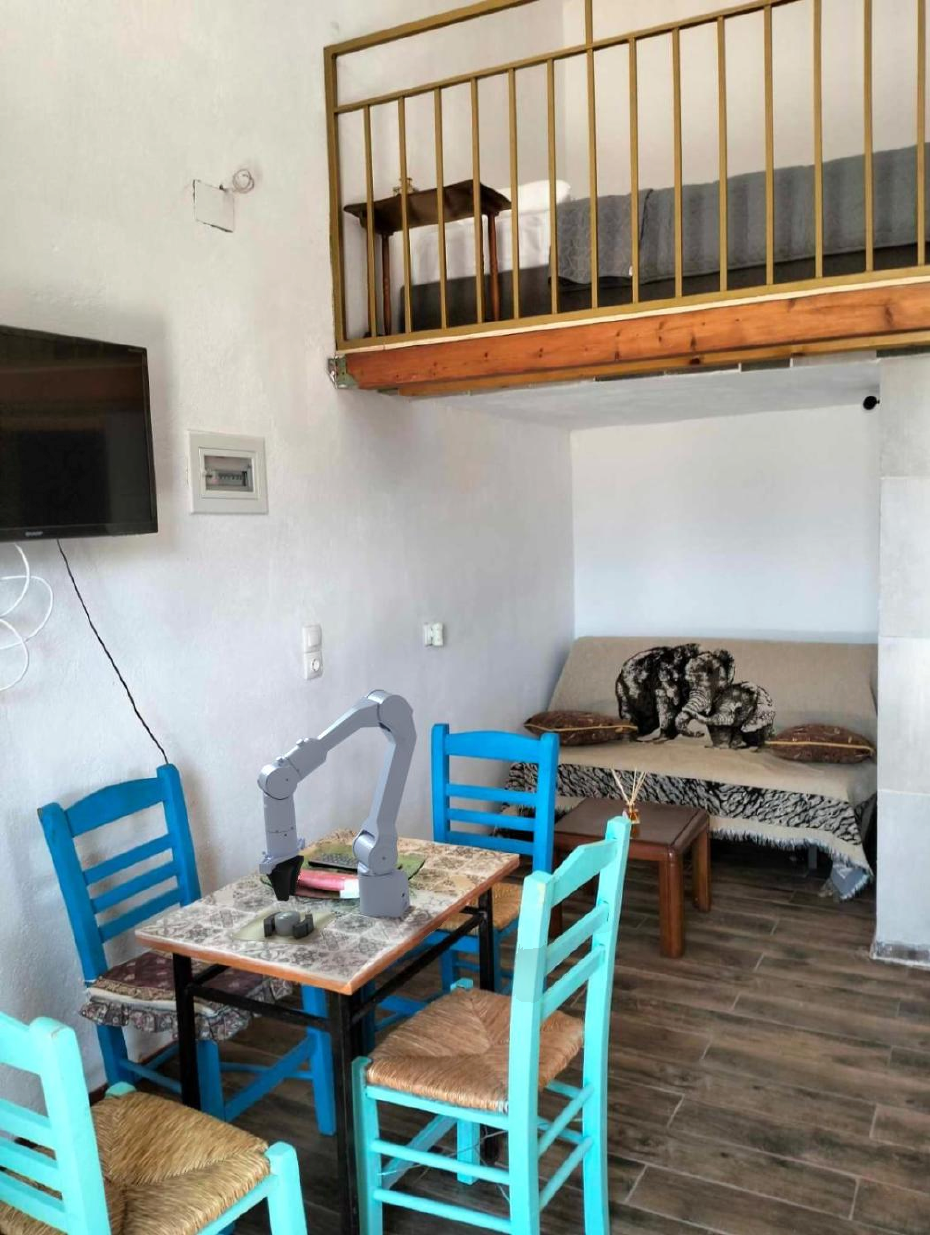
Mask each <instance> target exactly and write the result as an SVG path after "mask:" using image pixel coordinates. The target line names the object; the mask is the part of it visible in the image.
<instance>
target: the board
mask: <svg viewBox="0 0 930 1235" xmlns="http://www.w3.org/2000/svg"><path fill="white" fill-rule="evenodd" d="M285 911H286V910H277V909H264V910H263V911H262V912H260V913H259V915H257V916H256V917H254V918H253V919H252V920H250V921H249V922H248V923H247V924H245V925H244V926H243V927H242V928H241V929H239V930H237V932H235V933H234V934H233V935H232V936H230V937H229V938H228V939H229V940H239V941H240V940H242V941H253V942H263V943H265V942H266V943H274V944H276V943H277V944H289V945H299V946H301V945H302V946H306V945H307V944H309V943H310V942H311V941H312V940H313V939H314V938H315V937H316V936H317V935H319V933H320V932H322V931H323V929H325V928H326V927H327V926H328V925H329V924H330V923H331V922H333V920H334V919H336V918H337V917H338V916H339V914H334V913H332V914H331V913H320V912H319V913H318V912H308V911H307V912H305V911H298V912H299V913H300V919H301V922H302V921H303V920H304V919H305V915H307V914H312V915H313V925H314V930H313V932H312V933H311V934H309V935H307V936H306V937H304V938H301V939H298V940H297V939H295V938H294V937H293V936H278V935H277V934H276V932H275V930H274V931H273V932H272V936H269V937H265V936H264V924H263V921H264V919H265V918H267V917H268V916H269V915H271V914H274V913H277V912H285Z"/></svg>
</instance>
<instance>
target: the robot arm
mask: <svg viewBox="0 0 930 1235" xmlns="http://www.w3.org/2000/svg"><path fill="white" fill-rule="evenodd" d="M413 714H414V708H413V707H412V706H411V705H410V703H409V702H408V700H407V699H406V698H405V697H403V696H402V695H399V694H393V693H391V692H388V691H385V690H384V689H379V688H377V689H374V690H370V692H368V693H367V694H366V695H365V696H363V697H361V698H359V699H358V700H357V701H356V702H355V703H354V705H352V706H351V708H349V709H348V710H347V711H346V712H345V713H343V714H342V715H341V716H340V717H339V718H338V719H336V721H335V722H333V723H332V724H331V725H330V726H329V727H327V728H326V729H325V730H324V731H323V732H322V733H321V734H319V736H317V737H315V738H314V737H306V738H305V739H302V738H300V739H298V740H297V741H296V742H295V744H296V745H295V746H294V748H292V749H291V750H289V751H288V752H287V753H286V754H284V755H283V756H278V757H277V758H276V759H275V761H276V762H273V763H269V764H267V765H265V766H264V767H263V768H262V769H261V770H260V773H259V774H258V778H257V779H256V782H257V785H258V788H259V789H261V791H262V797H263V799H262V800H263V816H264V817H263V818H264V829H265V840H266V848H264V849H263V850H261V855H263V858H262V860H261V862H259V863H258V868H259V869H258V870H259V874H261V875H265V876H266V877H267V878H268V881H269V882H270V884H271V886H272V888H273V892H274V893H275V897H276V900H277V901H278V902H289V900H290V897H295V896H296V893H297V886H298V883H297V881H298V876H299V872H300V869H301V868H302V865H303V863H304V862H305V857H304V855H302V854H301V855H299V854H300V852H301V850H305V849H306V838H302V837H301V838H299V837H298V833H297V824H296V823H297V820H296V808H295V807H296V806H295V802H294V801H295V800H294V793H295V792H296V790H297V788H298V784H299V783H301V781H303V780H304V779H305V778H307V777H308V776H309V775H310V774H312V772H314V771H315V770H317V769H318V768H319V767H320V766H321V765H323V764H324V763H325V762H327V756H328V752H329V751H331V750H332V749H333V748H335V747H336V746H338V745H339V744H340V743H342V742H343V741H344V740H346V739H348V738H349V737H351V736H352V735H353V734H355V733H356V732H357V731H359V730H360V729H362V728H363V729H364V728H379V729H380V730H381V731H382V733H383V735H384V736H385V738H386V739H387V744H386V750H385V753H384V757H383V760H382V764H381V768H380V773H379V777H378V781H377V784H376V789H375V791H374V797H373V800H372V804H371V807H370V812H369V815H368V818H367V819H365V820H364V822H363V823H362V824H361V826H360V829H359V833H358V834H357V835H356V836H355V838H354V839H353V840H352V845H351V852H352V854H353V856H354V858H355V859H356V860H358V864H357V879H358V881H357V882H358V892H359V893H358V894H359V905H360V906H359V907H360V908H359V909H360V913H361V914H362V915H364V916H367V917H375V918H377V917H378V918H379V917H391V918H401V916H402V915H403V914H404V912H405V911H406V910H407V909H408V908H409V907H411V902H410V901H411V900H410V887H409V876H408V873H407V871H405V870H403V869H402V870H401V869H398V868H396V865H397V863H398V859H399V853H398V841H399V835H398V830H397V828H396V822H397V818H398V816H399V815H398V814H399V810H400V806H401V803H402V798H403V794H404V791H405V787H406V784H407V783H406V782H407V778H408V775H409V771H410V767H411V763H412V758H413V754H414V751H415V747H416V744H417V738H418V737H417V736H418V734H417V731H416V727H415V722H414V719H413Z"/></svg>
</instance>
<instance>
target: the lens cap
mask: <svg viewBox="0 0 930 1235" xmlns="http://www.w3.org/2000/svg"><path fill="white" fill-rule="evenodd" d="M284 911H285V912H281V913H278V914H277V915H275V932H276V934H277V935H278V936H293V925H295V924H298V923H300V922H301V919H300V913H299V912H300V911H296V910H284Z"/></svg>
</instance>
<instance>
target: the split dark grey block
mask: <svg viewBox="0 0 930 1235" xmlns="http://www.w3.org/2000/svg"><path fill="white" fill-rule="evenodd" d="M278 913H281V912H277V913H274V914H271V915H269V916H268V917H267V918H265V919H264V921H263V924H264V936H265V937H269V936H272V932H273V931H274V930H275V915H277V914H278ZM313 930H314V925H313V915H312V914H307V915H305V919H304V920H303V921H302V922H300V923H298V924H295V925H293V937H294V938H295V939H297V940H298V939H301V938H304V937H306V936H307V935H309V934H311V933H312V932H313Z"/></svg>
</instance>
